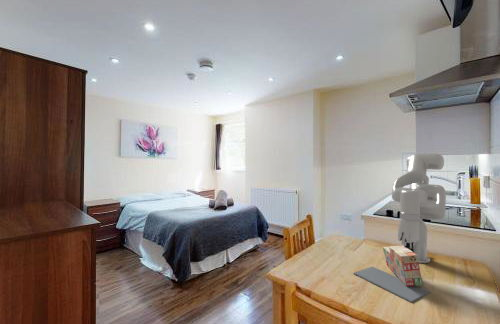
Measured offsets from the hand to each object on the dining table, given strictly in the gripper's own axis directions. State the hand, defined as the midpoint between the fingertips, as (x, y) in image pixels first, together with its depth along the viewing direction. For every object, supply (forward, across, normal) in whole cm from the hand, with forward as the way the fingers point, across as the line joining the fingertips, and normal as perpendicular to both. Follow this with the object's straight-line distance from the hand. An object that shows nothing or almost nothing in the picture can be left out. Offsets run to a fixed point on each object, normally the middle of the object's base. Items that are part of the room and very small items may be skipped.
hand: (408, 256), depth 105 cm
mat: (+9, +15, 0) cm, 17 cm away
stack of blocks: (+8, +4, 0) cm, 9 cm away
